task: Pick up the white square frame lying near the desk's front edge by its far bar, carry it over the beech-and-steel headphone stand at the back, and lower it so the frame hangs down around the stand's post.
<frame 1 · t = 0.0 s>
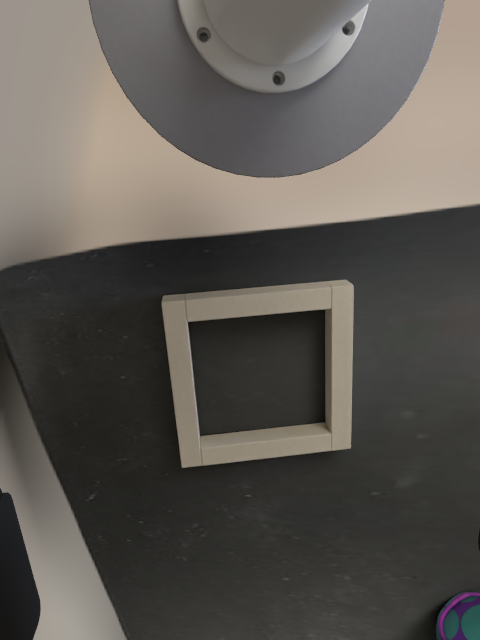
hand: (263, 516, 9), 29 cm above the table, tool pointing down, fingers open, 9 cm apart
white square frame: (260, 371, 40), on the table
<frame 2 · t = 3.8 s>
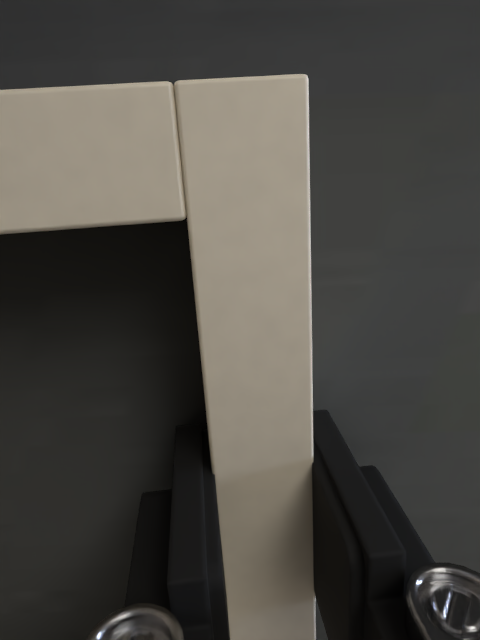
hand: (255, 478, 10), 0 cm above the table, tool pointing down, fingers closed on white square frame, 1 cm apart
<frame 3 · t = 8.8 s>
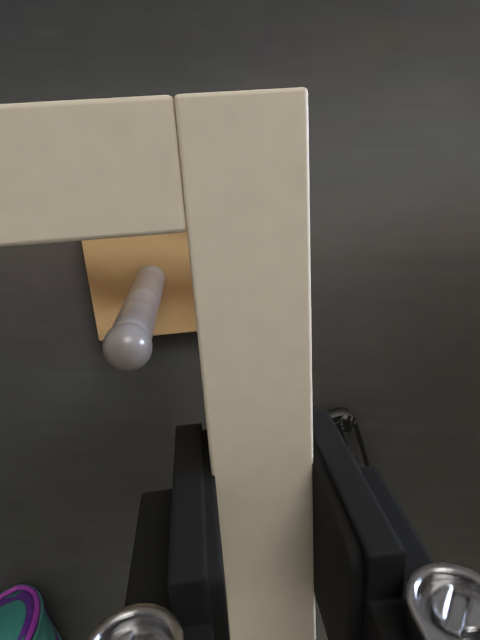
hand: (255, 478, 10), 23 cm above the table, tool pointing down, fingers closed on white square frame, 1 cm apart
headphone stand: (152, 273, 31), on the table
phone: (325, 490, 39), on the table
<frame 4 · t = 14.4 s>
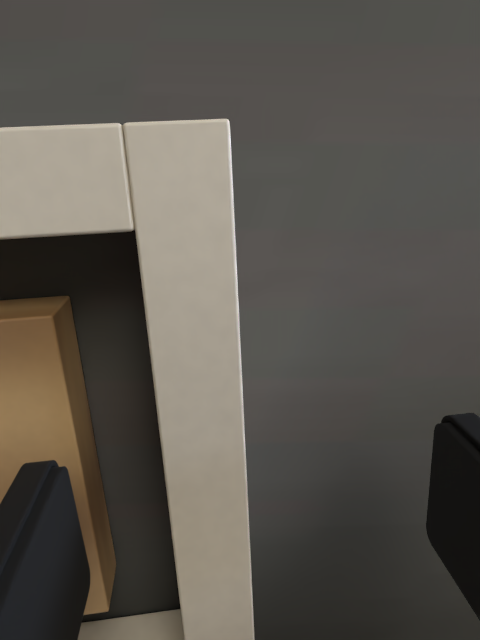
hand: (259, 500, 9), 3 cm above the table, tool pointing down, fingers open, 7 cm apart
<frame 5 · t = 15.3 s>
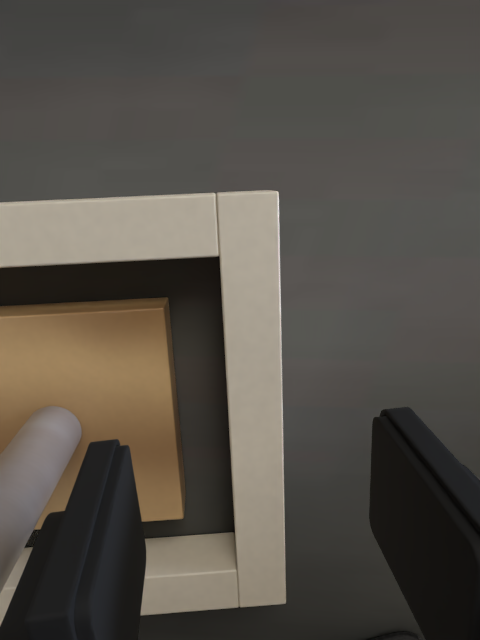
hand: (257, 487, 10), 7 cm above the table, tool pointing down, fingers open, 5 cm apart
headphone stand: (68, 408, 17), on the table
white square frame: (70, 413, 17), on the table
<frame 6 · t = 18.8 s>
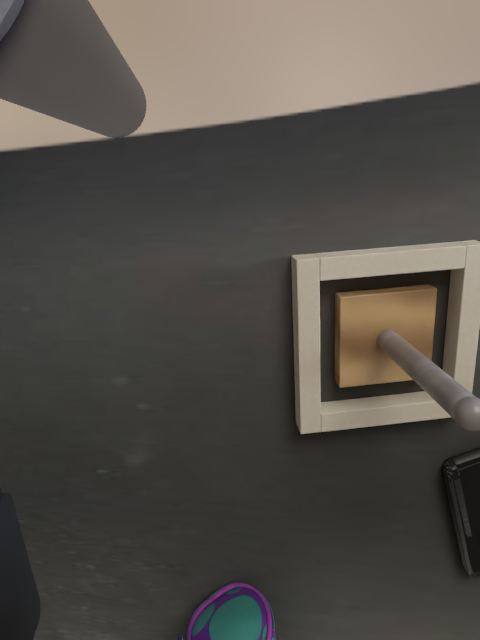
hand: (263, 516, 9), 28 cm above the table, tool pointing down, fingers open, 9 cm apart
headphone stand: (380, 333, 39), on the table
white square frame: (380, 335, 39), on the table
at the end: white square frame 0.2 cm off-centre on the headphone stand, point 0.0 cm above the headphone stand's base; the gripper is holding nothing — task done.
